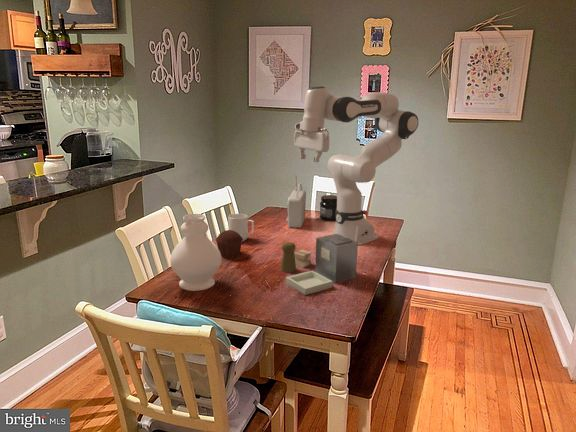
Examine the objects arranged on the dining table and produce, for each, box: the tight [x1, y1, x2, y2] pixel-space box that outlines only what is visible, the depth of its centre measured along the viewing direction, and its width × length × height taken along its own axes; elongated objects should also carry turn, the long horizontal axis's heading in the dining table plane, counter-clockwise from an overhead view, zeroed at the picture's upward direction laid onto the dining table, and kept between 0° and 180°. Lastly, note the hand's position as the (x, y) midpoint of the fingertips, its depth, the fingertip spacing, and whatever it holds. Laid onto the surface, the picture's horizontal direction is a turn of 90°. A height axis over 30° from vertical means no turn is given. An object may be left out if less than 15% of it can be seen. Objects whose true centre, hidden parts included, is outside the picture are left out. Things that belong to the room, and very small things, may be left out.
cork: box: [280, 241, 297, 274], centre depth 184 cm, size 6×6×11 cm
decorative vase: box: [169, 213, 222, 292], centre depth 169 cm, size 18×18×25 cm
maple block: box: [294, 249, 312, 268], centre depth 191 cm, size 5×5×5 cm
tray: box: [285, 270, 334, 296], centre depth 171 cm, size 12×12×2 cm
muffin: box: [215, 229, 243, 259], centre depth 200 cm, size 12×11×10 cm
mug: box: [227, 213, 255, 242], centre depth 219 cm, size 12×9×11 cm
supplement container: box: [319, 194, 337, 222], centre depth 254 cm, size 10×10×12 cm
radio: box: [285, 173, 307, 229], centre depth 244 cm, size 22×8×25 cm, turn 172°
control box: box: [314, 233, 359, 284], centre depth 179 cm, size 10×12×14 cm
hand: (309, 160), depth 199 cm, fingers open, 8 cm apart
